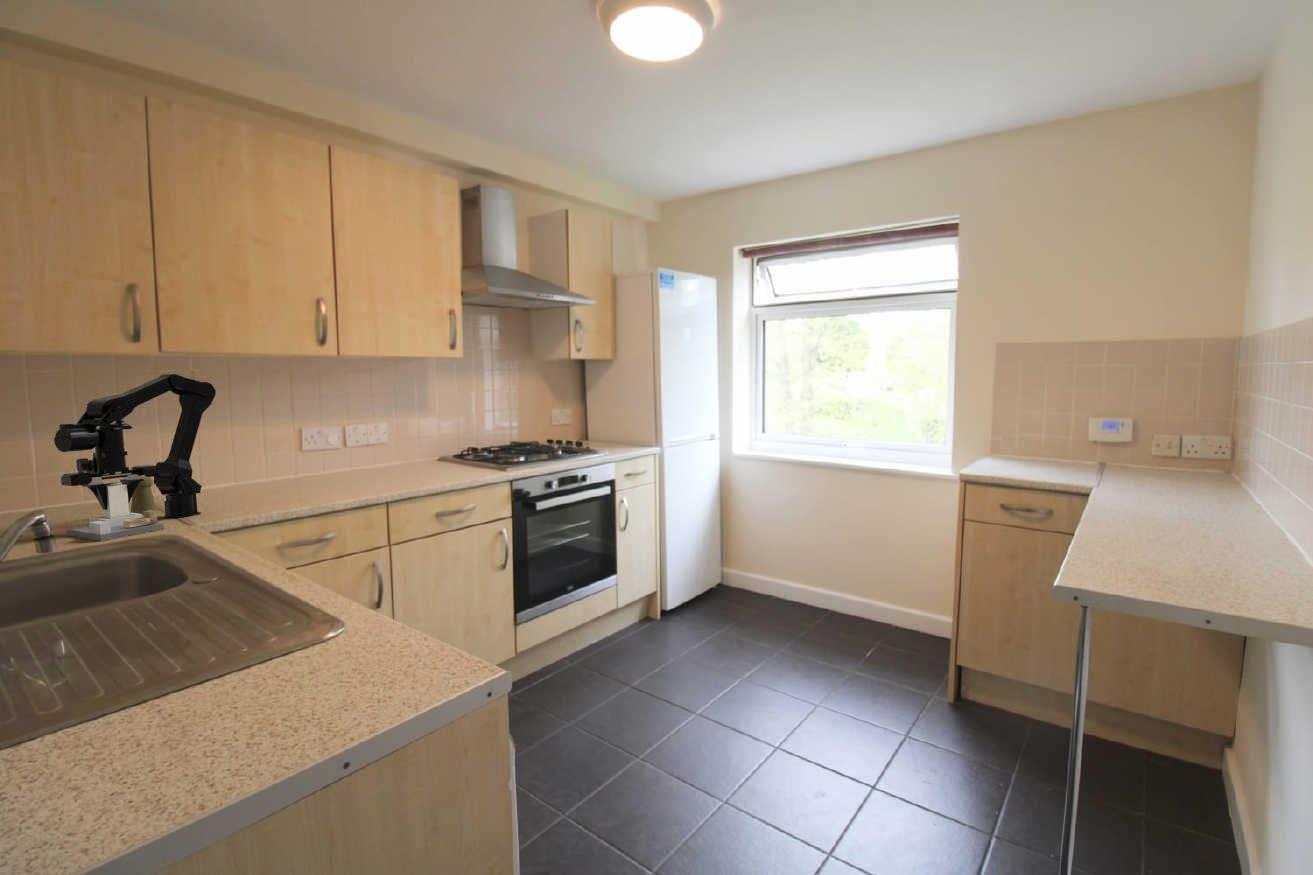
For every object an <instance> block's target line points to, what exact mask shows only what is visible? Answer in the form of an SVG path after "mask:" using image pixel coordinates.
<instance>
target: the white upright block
mask: <svg viewBox="0 0 1313 875" xmlns="http://www.w3.org/2000/svg"><path fill="white" fill-rule="evenodd" d="M104 484H106V489H107V502H108V505H107V510H103V508H102V507H101V512H102V516H103V517H106V518H115V517H121V516H127V515H129V512H130V507H129V506H130V505H129V504H130V503H129V504H128V493H127V485H126V484H122V482H120V481H115V482H106V483H104Z"/></svg>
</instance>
